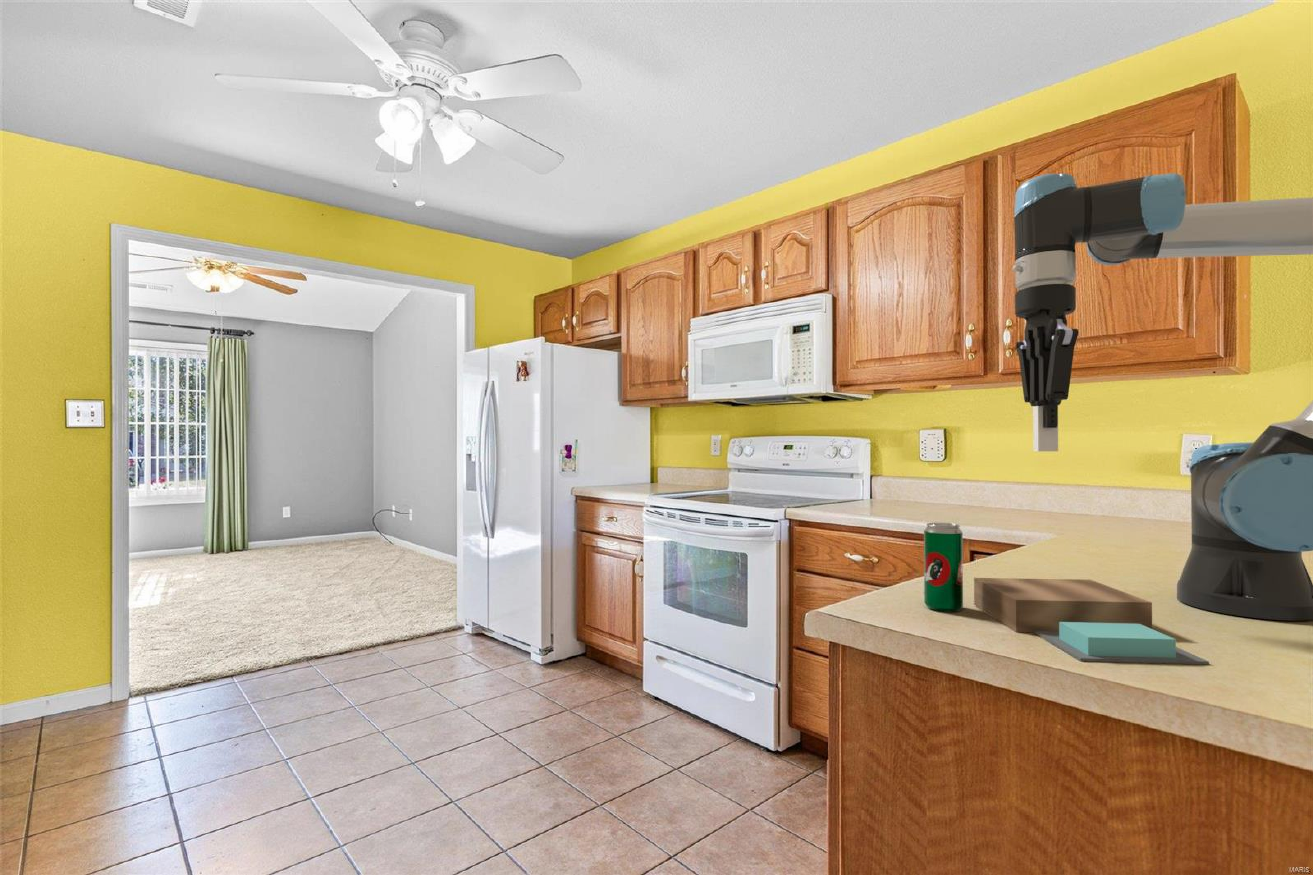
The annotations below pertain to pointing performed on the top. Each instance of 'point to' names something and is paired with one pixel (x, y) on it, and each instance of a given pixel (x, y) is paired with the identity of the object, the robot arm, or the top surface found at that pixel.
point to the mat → (1181, 656)
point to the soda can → (943, 567)
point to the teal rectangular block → (1117, 639)
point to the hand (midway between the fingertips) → (1045, 451)
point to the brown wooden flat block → (1057, 603)
